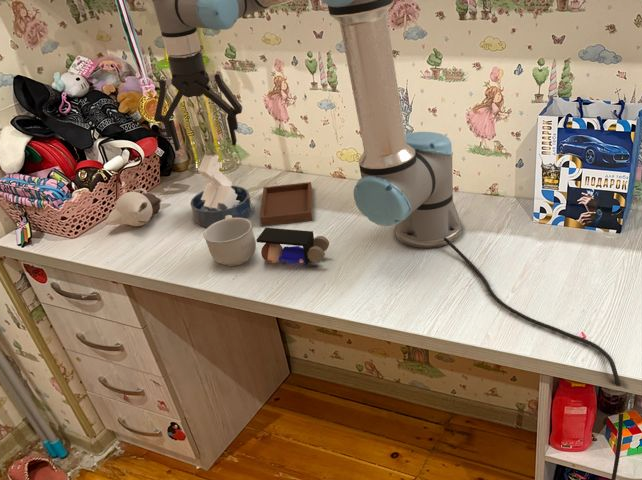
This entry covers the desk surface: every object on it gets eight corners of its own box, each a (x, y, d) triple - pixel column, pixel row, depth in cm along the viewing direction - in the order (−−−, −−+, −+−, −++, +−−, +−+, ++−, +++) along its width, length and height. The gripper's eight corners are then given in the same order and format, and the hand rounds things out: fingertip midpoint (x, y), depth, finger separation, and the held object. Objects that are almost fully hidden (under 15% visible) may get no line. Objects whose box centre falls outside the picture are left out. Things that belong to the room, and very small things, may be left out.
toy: (144, 224, 187) (106, 239, 174) (128, 192, 184) (89, 206, 172) (180, 210, 181) (143, 225, 168) (165, 177, 178) (127, 190, 166)
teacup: (254, 270, 155) (247, 238, 150) (206, 273, 156) (197, 241, 151) (263, 239, 166) (257, 208, 161) (219, 242, 167) (211, 211, 162)
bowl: (250, 224, 173) (246, 208, 170) (191, 231, 172) (186, 214, 169) (253, 198, 184) (250, 182, 181) (198, 204, 184) (194, 189, 181)
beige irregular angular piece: (252, 180, 180) (220, 149, 166) (236, 222, 178) (203, 194, 164) (230, 177, 183) (197, 146, 169) (214, 217, 181) (179, 190, 167)
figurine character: (330, 260, 159) (267, 252, 160) (330, 231, 154) (264, 223, 156) (323, 276, 154) (258, 267, 155) (322, 247, 149) (255, 238, 151)
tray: (312, 220, 172) (311, 212, 170) (261, 226, 171) (259, 217, 170) (312, 189, 186) (311, 181, 184) (265, 195, 185) (263, 187, 184)
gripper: (241, 43, 157) (259, 134, 170) (130, 54, 156) (156, 145, 170) (239, 52, 151) (257, 146, 164) (124, 63, 151) (151, 157, 164)
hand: (206, 145), depth 167 cm, fingers open, 13 cm apart
